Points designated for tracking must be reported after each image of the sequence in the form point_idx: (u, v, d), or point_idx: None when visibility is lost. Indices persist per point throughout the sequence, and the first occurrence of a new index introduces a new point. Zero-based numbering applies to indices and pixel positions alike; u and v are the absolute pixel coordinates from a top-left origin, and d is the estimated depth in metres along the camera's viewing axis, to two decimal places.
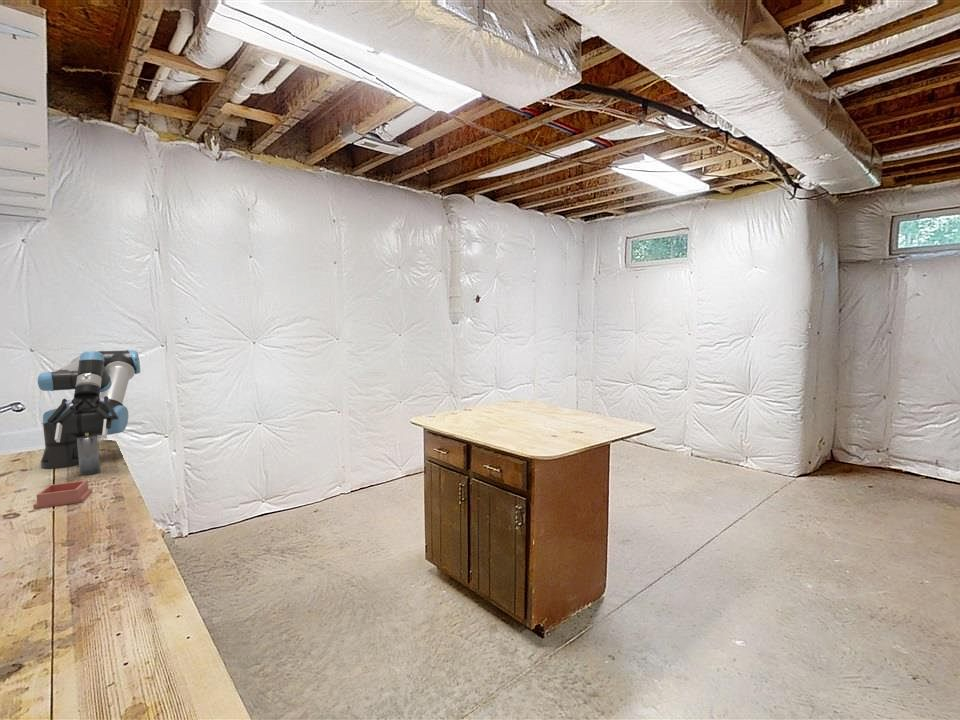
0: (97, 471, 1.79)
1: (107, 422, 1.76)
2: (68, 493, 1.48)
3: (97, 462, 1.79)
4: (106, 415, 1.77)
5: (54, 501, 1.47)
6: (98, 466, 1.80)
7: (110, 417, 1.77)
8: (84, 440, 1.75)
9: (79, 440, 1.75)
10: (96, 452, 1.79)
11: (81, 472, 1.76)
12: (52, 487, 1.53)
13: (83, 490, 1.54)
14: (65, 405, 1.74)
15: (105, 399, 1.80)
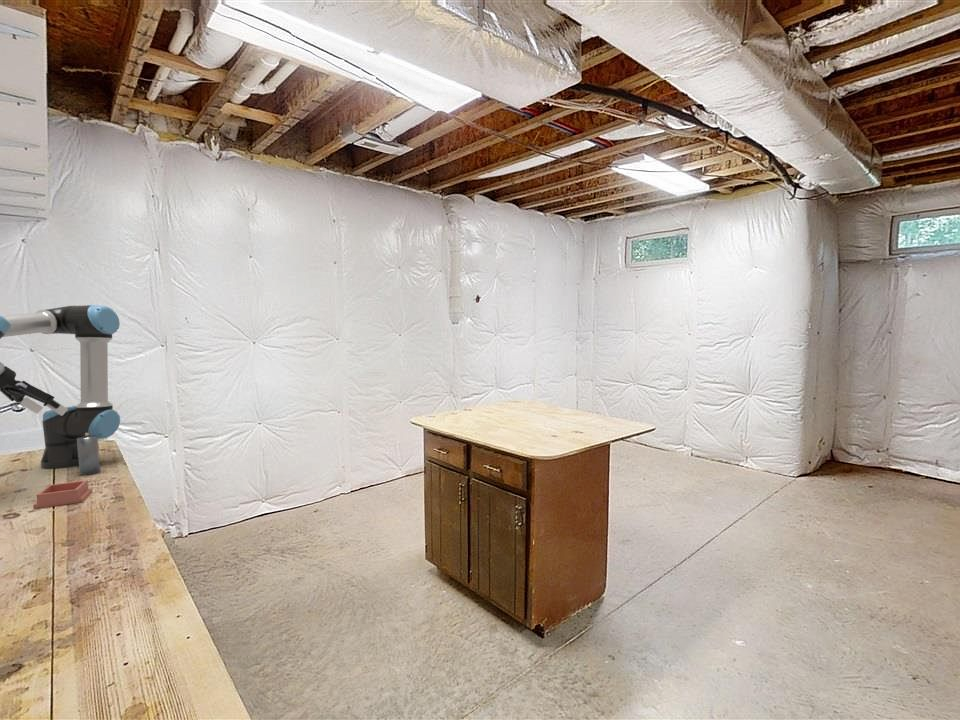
0: (97, 471, 1.79)
1: (50, 405, 1.61)
2: (68, 493, 1.48)
3: (97, 462, 1.79)
4: (41, 401, 1.58)
5: (54, 501, 1.47)
6: (98, 466, 1.80)
7: (46, 403, 1.59)
8: (84, 440, 1.75)
9: (79, 440, 1.75)
10: (96, 452, 1.79)
11: (81, 472, 1.76)
12: (52, 487, 1.53)
13: (83, 490, 1.54)
14: (3, 388, 1.59)
15: (21, 389, 1.54)
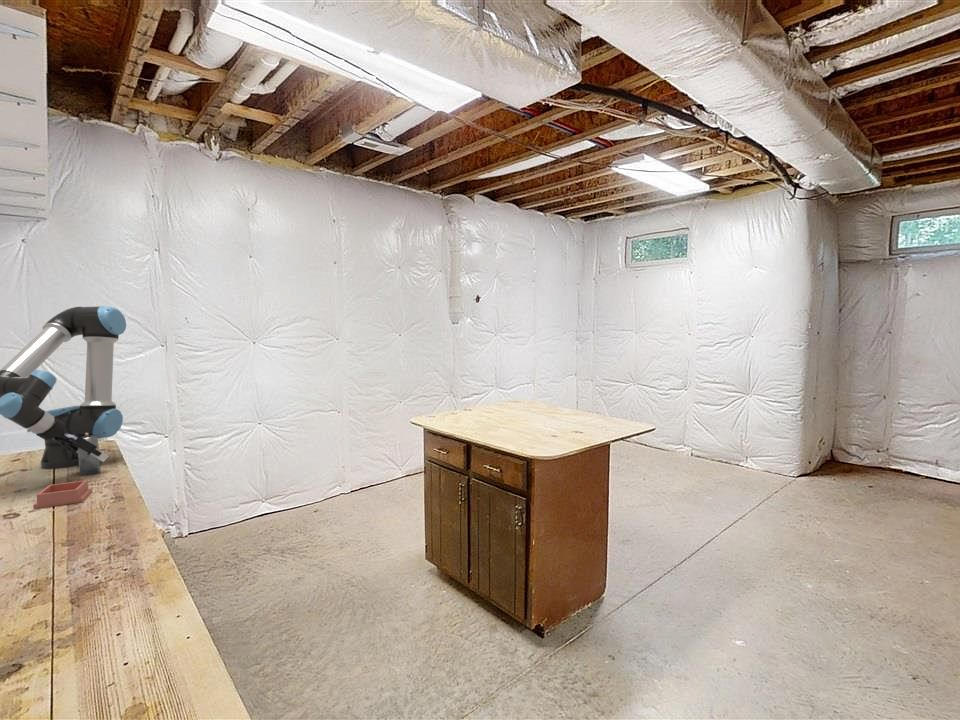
0: (97, 471, 1.79)
1: (93, 453, 1.77)
2: (68, 493, 1.48)
3: (97, 462, 1.79)
4: (86, 450, 1.74)
5: (54, 501, 1.47)
6: (98, 466, 1.80)
7: (90, 452, 1.75)
8: None
9: None
10: None
11: (81, 472, 1.76)
12: (52, 487, 1.53)
13: (83, 490, 1.54)
14: None
15: (71, 440, 1.68)
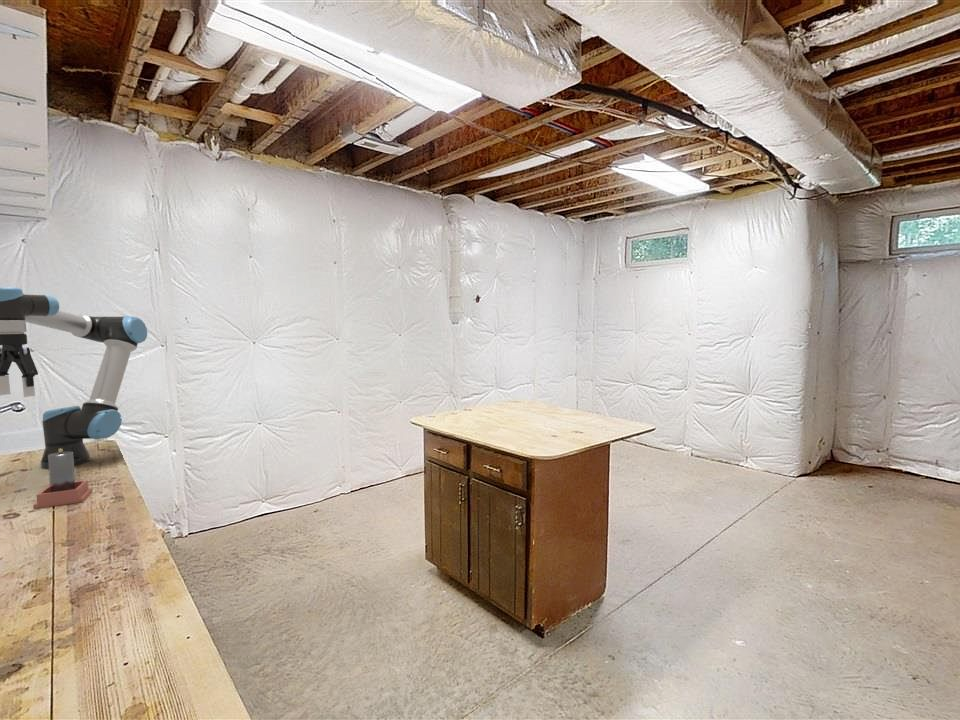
0: None
1: (26, 381, 1.56)
2: (68, 493, 1.48)
3: (72, 484, 1.51)
4: (23, 373, 1.56)
5: (54, 501, 1.47)
6: (73, 488, 1.52)
7: (26, 376, 1.56)
8: (56, 458, 1.48)
9: (51, 458, 1.48)
10: (71, 472, 1.51)
11: None
12: None
13: (83, 490, 1.54)
14: (0, 354, 1.60)
15: (19, 352, 1.56)
